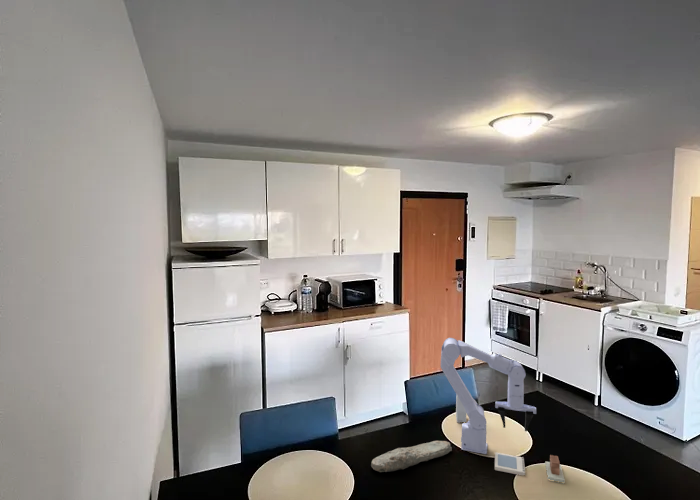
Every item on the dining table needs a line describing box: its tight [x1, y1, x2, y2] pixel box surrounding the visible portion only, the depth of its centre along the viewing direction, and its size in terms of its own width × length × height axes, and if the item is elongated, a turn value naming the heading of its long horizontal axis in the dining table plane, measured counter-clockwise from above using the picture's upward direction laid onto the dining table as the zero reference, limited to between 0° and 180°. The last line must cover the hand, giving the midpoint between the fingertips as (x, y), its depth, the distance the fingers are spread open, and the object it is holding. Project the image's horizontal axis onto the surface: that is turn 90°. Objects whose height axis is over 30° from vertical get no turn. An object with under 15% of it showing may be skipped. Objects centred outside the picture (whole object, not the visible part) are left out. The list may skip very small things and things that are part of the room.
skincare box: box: [455, 393, 467, 423], centre depth 179 cm, size 6×4×12 cm
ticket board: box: [494, 451, 526, 476], centre depth 144 cm, size 10×10×1 cm
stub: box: [544, 454, 566, 484], centre depth 139 cm, size 5×10×5 cm, turn 159°
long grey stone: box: [370, 440, 453, 473], centre depth 149 cm, size 35×5×10 cm
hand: (514, 428), depth 153 cm, fingers open, 7 cm apart
